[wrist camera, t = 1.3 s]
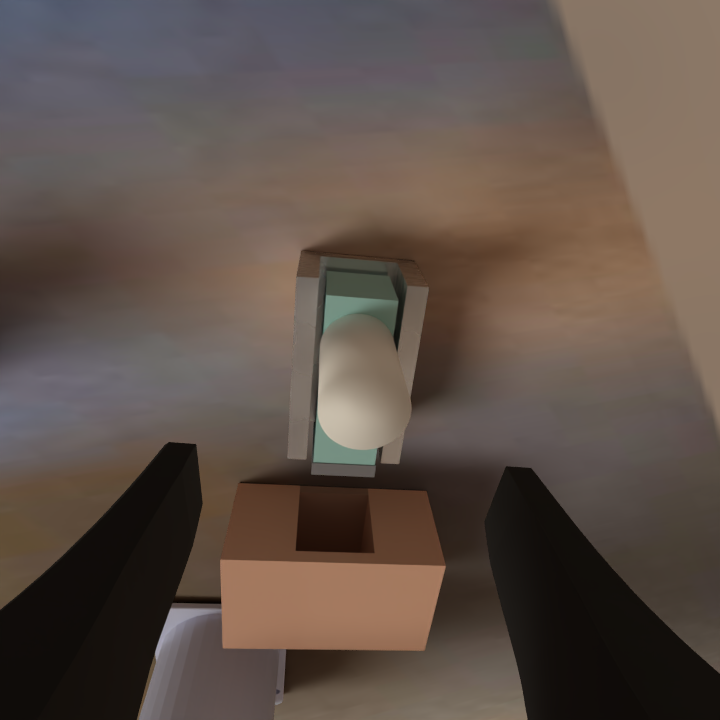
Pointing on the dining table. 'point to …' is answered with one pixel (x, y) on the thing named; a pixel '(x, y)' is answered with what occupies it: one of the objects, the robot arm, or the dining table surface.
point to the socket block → (329, 569)
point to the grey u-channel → (309, 333)
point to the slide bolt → (357, 376)
